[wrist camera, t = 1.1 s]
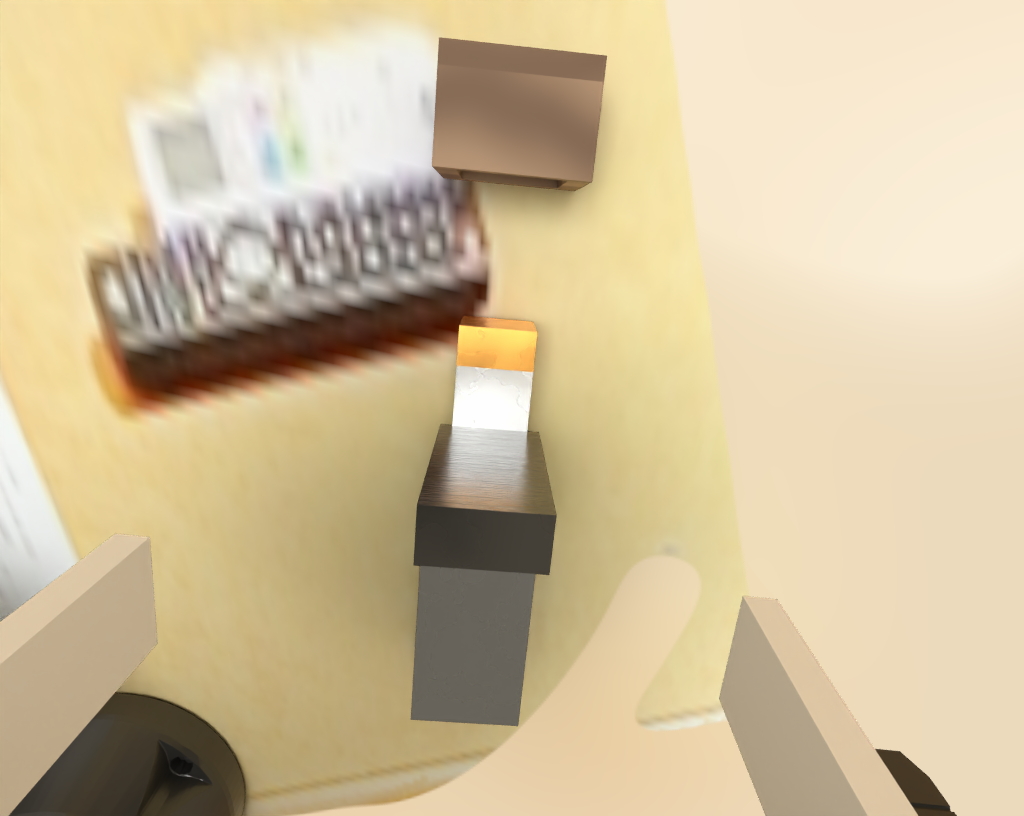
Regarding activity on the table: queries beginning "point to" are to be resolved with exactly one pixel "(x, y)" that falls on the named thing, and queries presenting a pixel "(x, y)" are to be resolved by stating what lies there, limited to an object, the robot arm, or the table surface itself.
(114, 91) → the table surface
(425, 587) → the sleeve
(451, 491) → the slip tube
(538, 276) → the table surface
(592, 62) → the brown block
